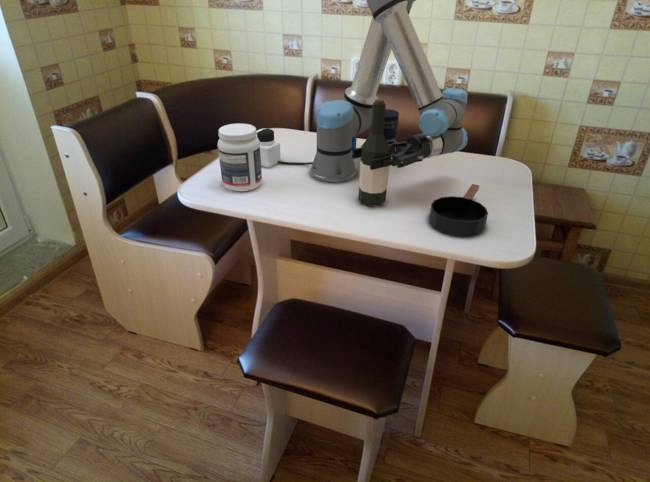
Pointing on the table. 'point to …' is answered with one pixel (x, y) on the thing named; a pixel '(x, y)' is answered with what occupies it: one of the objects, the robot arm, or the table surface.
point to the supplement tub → (239, 157)
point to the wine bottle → (373, 148)
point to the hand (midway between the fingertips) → (361, 159)
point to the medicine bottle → (268, 148)
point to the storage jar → (390, 124)
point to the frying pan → (459, 214)
